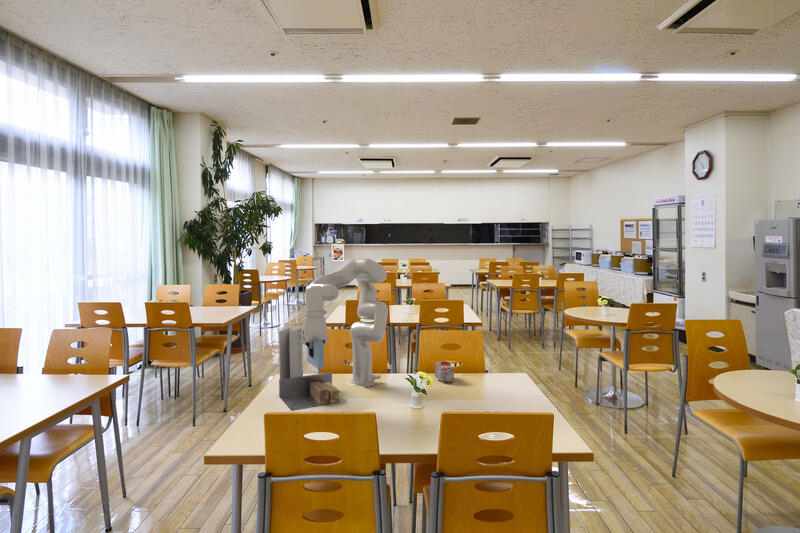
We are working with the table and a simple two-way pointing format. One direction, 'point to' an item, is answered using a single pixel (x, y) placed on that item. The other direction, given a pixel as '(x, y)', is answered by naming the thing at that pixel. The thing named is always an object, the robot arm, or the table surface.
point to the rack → (302, 391)
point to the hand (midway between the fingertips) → (315, 356)
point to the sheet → (317, 354)
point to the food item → (444, 371)
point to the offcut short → (332, 392)
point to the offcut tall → (319, 392)
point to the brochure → (290, 353)
